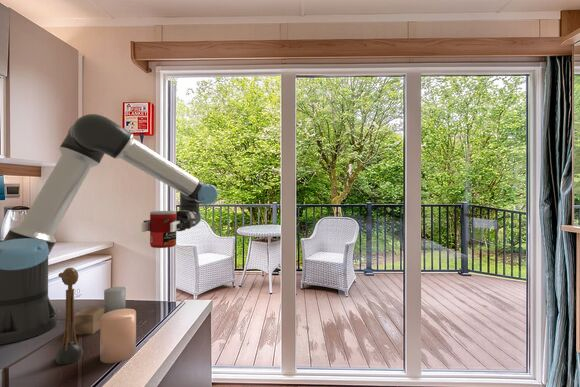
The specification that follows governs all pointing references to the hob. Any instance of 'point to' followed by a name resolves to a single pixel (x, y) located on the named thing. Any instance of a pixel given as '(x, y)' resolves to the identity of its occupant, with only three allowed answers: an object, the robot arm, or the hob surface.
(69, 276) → the wooden tabletop sculpture
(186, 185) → the robot arm
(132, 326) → the peach cylinder
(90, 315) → the walnut block
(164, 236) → the canned food
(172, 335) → the hob surface
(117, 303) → the grey-white rounded cylinder
